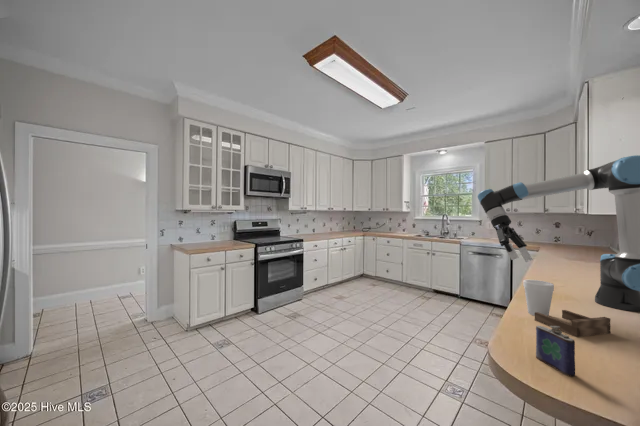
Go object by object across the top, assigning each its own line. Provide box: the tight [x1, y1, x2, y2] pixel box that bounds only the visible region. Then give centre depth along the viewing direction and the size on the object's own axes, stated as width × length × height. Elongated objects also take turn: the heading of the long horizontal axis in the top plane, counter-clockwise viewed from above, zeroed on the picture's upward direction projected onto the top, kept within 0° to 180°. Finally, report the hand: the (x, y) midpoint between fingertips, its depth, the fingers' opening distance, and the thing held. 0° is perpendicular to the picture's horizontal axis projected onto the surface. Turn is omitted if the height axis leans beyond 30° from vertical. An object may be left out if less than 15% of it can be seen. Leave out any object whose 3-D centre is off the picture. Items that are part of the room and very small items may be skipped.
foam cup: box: [522, 279, 555, 317], centre depth 103 cm, size 10×9×13 cm
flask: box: [535, 325, 576, 378], centre depth 67 cm, size 9×3×11 cm, turn 8°
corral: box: [534, 309, 611, 338], centre depth 92 cm, size 15×14×5 cm
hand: (522, 260), depth 112 cm, fingers open, 13 cm apart
